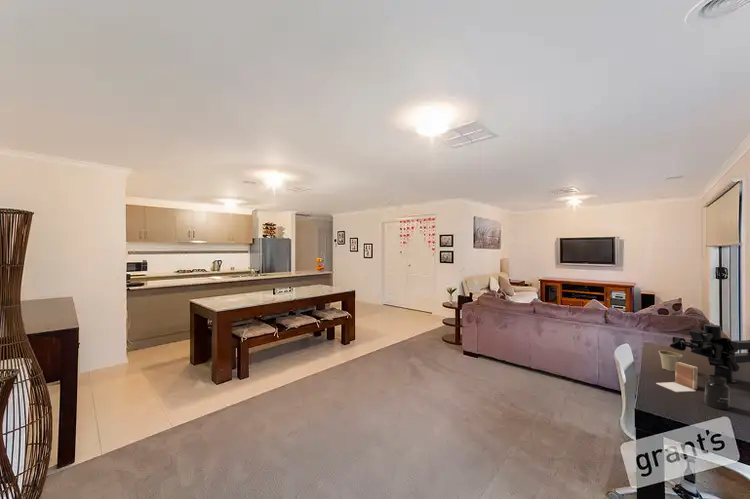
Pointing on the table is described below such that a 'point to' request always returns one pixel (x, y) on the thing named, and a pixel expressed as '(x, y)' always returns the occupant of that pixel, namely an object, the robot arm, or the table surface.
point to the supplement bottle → (717, 392)
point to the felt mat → (676, 387)
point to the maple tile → (686, 375)
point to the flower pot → (669, 360)
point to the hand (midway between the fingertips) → (680, 348)
